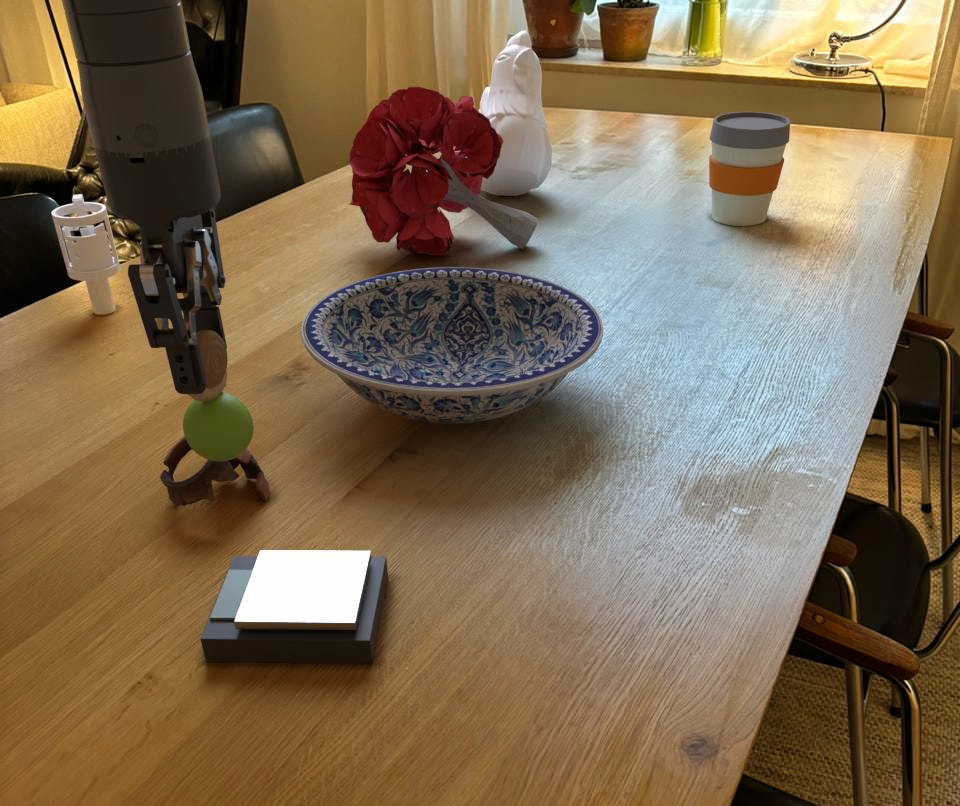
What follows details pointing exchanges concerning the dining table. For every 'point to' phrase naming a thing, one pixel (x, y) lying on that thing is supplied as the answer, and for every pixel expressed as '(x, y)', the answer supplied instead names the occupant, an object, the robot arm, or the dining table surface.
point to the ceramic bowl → (452, 340)
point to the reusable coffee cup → (745, 165)
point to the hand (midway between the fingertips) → (202, 371)
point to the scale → (291, 644)
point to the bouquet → (449, 181)
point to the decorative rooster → (517, 120)
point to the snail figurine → (216, 408)
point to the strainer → (89, 250)
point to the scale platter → (304, 590)
